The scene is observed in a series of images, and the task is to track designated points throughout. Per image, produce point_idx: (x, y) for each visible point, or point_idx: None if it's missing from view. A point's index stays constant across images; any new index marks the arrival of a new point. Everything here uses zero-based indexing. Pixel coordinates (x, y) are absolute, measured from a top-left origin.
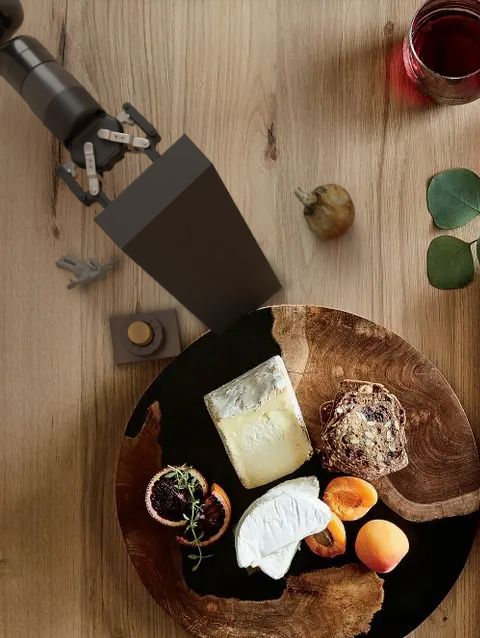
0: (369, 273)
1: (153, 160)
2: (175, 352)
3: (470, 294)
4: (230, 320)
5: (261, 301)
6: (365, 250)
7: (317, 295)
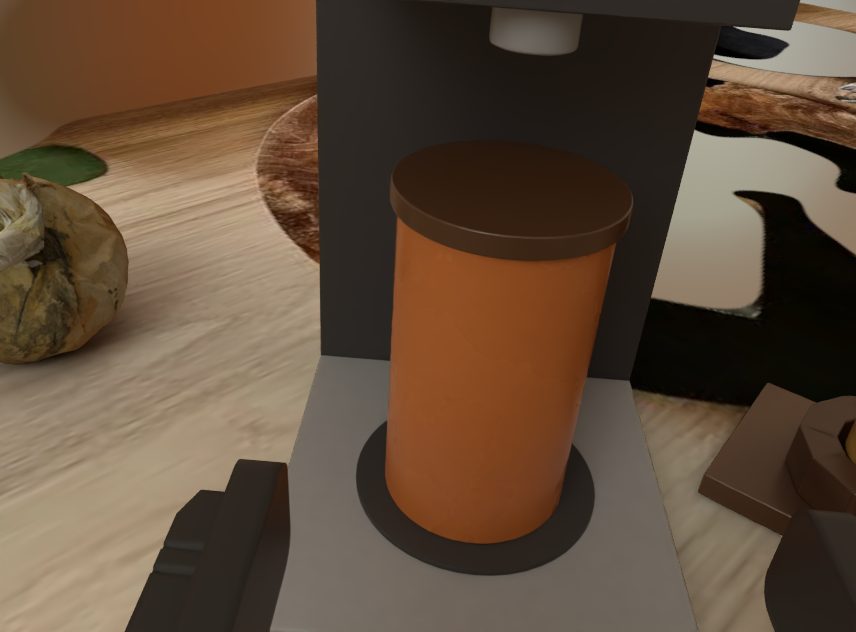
0: (152, 235)
1: (246, 551)
2: (783, 396)
3: (86, 140)
4: None
5: None
6: None
7: (291, 274)
